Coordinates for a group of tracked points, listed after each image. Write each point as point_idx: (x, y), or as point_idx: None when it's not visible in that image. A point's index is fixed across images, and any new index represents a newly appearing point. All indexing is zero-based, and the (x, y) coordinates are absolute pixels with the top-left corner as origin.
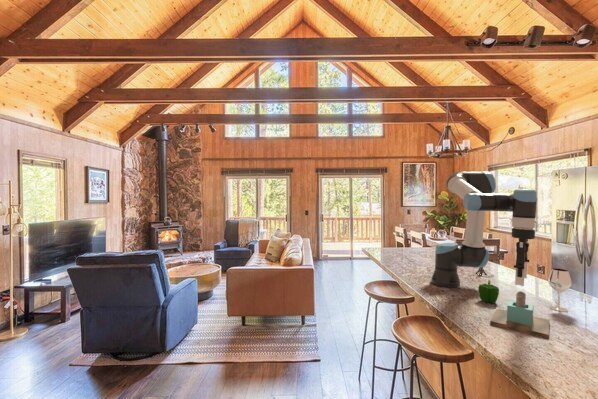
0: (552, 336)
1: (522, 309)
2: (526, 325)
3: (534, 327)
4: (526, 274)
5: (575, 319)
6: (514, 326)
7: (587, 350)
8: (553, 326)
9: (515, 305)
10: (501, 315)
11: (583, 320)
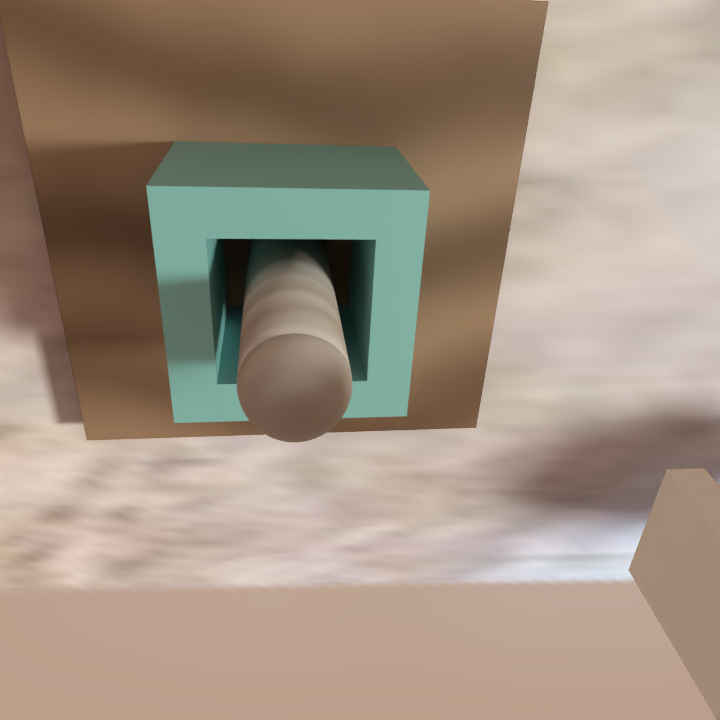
0: None
1: (167, 337)
2: None
3: None
4: (671, 639)
5: None
6: (43, 220)
7: (89, 573)
8: (415, 432)
9: (371, 246)
10: (306, 75)
11: None
